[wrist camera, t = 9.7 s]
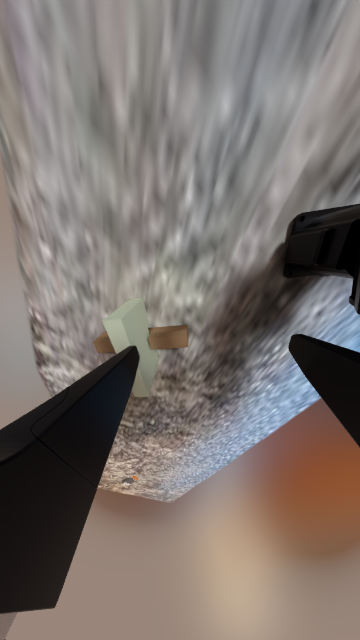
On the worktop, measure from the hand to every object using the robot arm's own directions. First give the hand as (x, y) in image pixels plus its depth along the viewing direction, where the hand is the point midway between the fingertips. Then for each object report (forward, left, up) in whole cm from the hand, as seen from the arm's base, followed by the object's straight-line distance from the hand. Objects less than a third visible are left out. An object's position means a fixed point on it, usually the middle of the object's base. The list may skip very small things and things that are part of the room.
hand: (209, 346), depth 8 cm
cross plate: (+9, +6, -12) cm, 16 cm away
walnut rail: (+9, +6, -12) cm, 16 cm away
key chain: (+31, +74, -13) cm, 81 cm away
